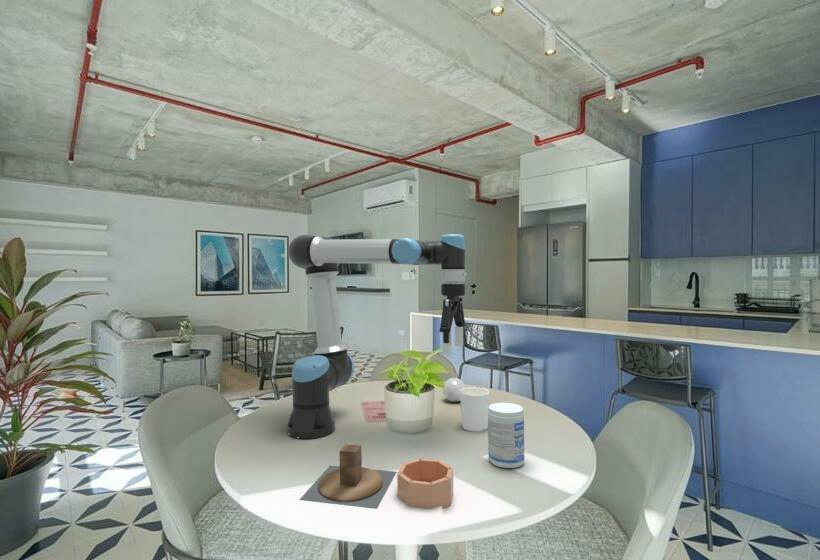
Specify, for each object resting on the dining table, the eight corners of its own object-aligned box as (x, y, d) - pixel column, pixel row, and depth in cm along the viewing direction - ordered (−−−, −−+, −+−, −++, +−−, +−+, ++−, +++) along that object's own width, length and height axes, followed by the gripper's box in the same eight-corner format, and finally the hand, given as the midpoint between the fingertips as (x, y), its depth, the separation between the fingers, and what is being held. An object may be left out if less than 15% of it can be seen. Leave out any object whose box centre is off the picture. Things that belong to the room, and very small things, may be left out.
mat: (299, 504, 94) (299, 499, 94) (330, 469, 110) (330, 465, 110) (377, 513, 90) (376, 508, 90) (396, 475, 106) (396, 471, 106)
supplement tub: (523, 472, 108) (523, 414, 108) (486, 467, 111) (485, 411, 110) (525, 456, 117) (524, 403, 117) (490, 452, 120) (490, 400, 120)
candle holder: (488, 422, 144) (488, 387, 144) (491, 433, 134) (491, 395, 134) (459, 421, 145) (459, 386, 145) (460, 432, 135) (459, 395, 135)
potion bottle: (441, 402, 170) (478, 410, 167) (438, 394, 163) (477, 401, 159) (445, 381, 175) (481, 387, 171) (443, 372, 167) (481, 378, 164)
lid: (307, 498, 94) (306, 459, 94) (333, 467, 109) (333, 433, 109) (371, 505, 91) (371, 464, 91) (389, 473, 106) (389, 438, 106)
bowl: (393, 508, 92) (393, 480, 92) (406, 481, 103) (405, 457, 103) (448, 514, 89) (448, 486, 89) (455, 486, 101) (454, 461, 101)
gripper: (453, 284, 121) (453, 357, 122) (473, 282, 144) (473, 344, 145) (429, 284, 124) (429, 356, 124) (452, 282, 147) (452, 342, 148)
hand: (453, 349), depth 135 cm, fingers open, 13 cm apart
